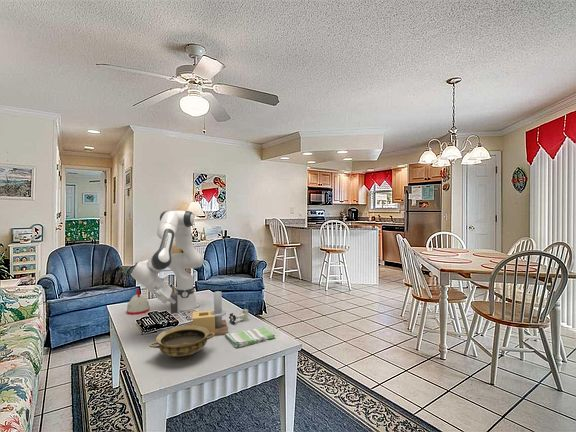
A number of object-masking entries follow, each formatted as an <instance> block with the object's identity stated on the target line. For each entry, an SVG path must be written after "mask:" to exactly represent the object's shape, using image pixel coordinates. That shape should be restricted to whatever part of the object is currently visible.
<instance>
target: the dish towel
mask: <svg viewBox="0 0 576 432" xmlns="http://www.w3.org/2000/svg"><path fill="white" fill-rule="evenodd" d="M275 336H276V334H274V333H271V332H270V331H268V329H266V328H265V327H264V326H262V327H257V328H252V329H248V330H244V331H238V332H234V333H233V332H232V333H230V332H228V333H227V334H225V335H224V338H225V339H226V340H227V342H229V343H230V345H232V347H234V349H238V347H239V348H244V347H247V345H248V346H251V344H252V345H255V344H254V343H256V344H259V343H258V342H260V343H264V342H263V341H265V342H267V341H266V340H269V341H271V340H275V339H276V337H275ZM243 346H244V347H243Z"/></svg>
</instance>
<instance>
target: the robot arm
mask: <svg viewBox="0 0 576 432" xmlns="http://www.w3.org/2000/svg"><path fill="white" fill-rule="evenodd" d="M194 223H195V214H194V213H193V212H192V211H190V210H179V209H178V210H164V211H163V212H161V213H160V216H159V223H158V226H157V229H156V236H157V237H158V238H159V239H160V243H159V247H158V249H157V251H156V252H154V254H153V255H152V256H151V257H150V258H147V259H146V260H143V261H142V260H141V261H137V262H136V263H135V264H134V265H133V266H132V267H131V268H130V271H129V273H130V276H131V277H132V278H133V279H134V280H135V281H136V282H138V284H140V285H142V286H143V287H144V288H145V289H146V290H147V291H148V292H150V293H151V294H152V295H154V296H155V297H156V298H157V299H158V300H160V301H161V302H162V303H163V304H167V303H168V302H169V303H170V302H171V303H172V304H175V303H176V301H175V300H173V299H172V298H171V297H170V296H171V294H173V293H172V292H173V288H172V287H171V286H170V285H169V284H168V283H167V282H166V281H165V279H164V278H162V277H160V276H159V275H158V274H160V273H161V272H162V271H163V270H165V269H167V268H168V269H170V270H171V271H172V272H173V274H174V275H175V280H176V289H175V294H177V293H178V312H179V311H181V312H182V311H183V312H185V311H190V310H194V309H196V308H199V307H200V304H199V303H198V302H197V294H196V293H195V287H194V276H193V275H192V274H190V273H189V272H187V271H186V270H187V269H198V268H201V267H202V266H203V264H204V257H203V255H202V254H201V253H200V252H198V250H197V249H196V248H195V247H194V244H193V237H192V227H191V226H193V224H194ZM174 242H175V243H174ZM173 243H174V244H175V247H177V248H178V249H180V250H181V251H183V252H176V253H174V252H173V253H171V252H172V248H173ZM171 303H170V304H171Z"/></svg>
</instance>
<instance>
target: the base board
mask: <svg viewBox="0 0 576 432" xmlns="http://www.w3.org/2000/svg"><path fill="white" fill-rule="evenodd" d="M191 325H192V326H193V322H188V323H186V324H185V326H191ZM209 333H215V335H214V337H217V336H218V337H219V336H225V334H227V333H229V328H228V325H227V320H226V319H222V327H219V328H216V327H215V331H209ZM210 336H212V335H208V336H207V338H208V337H210Z"/></svg>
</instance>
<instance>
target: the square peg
mask: <svg viewBox="0 0 576 432" xmlns="http://www.w3.org/2000/svg"><path fill="white" fill-rule="evenodd" d="M170 297H171V298H172V299H173V300H175V301H176V303H175V304H172V303H171V302H169V303H170V314H178V313H179V311H178V293H177V294H176V293H172V294H171V296H170Z"/></svg>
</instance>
